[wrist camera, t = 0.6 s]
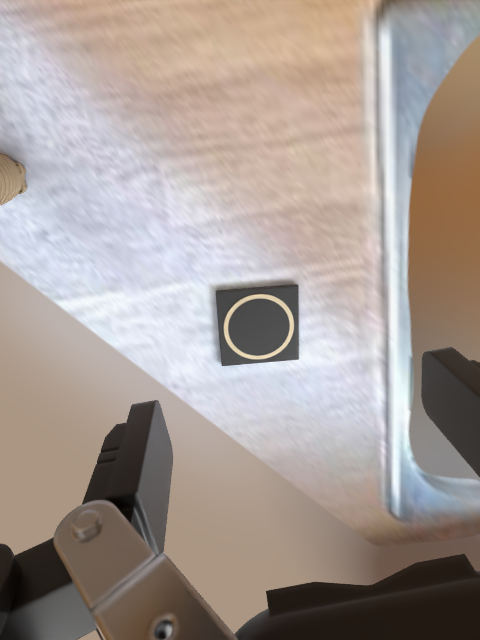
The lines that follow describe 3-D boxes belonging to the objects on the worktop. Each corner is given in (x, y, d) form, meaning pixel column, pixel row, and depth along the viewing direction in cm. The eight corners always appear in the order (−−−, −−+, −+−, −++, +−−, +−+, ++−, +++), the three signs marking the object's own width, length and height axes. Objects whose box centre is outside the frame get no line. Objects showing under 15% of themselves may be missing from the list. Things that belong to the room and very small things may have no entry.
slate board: (215, 290, 37) (215, 292, 36) (297, 284, 37) (298, 286, 37) (221, 364, 40) (222, 367, 39) (297, 357, 40) (299, 360, 39)
